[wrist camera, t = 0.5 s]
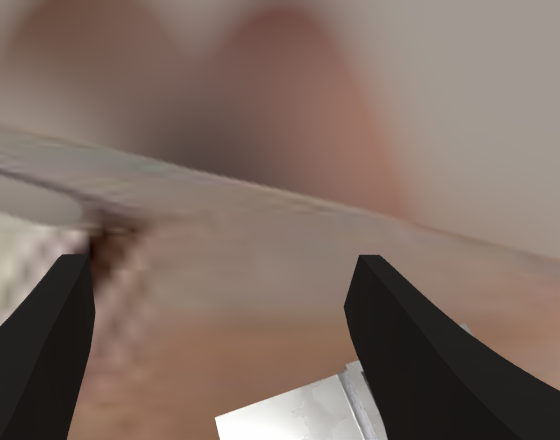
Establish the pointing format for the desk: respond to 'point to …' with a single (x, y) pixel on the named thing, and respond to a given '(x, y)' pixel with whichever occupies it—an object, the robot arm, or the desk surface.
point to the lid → (300, 415)
